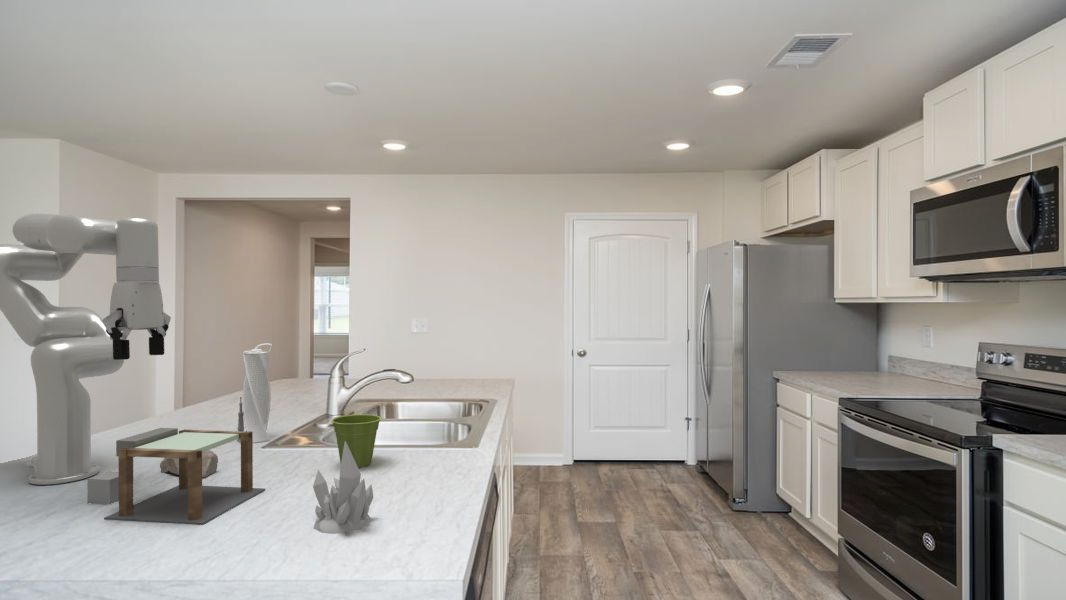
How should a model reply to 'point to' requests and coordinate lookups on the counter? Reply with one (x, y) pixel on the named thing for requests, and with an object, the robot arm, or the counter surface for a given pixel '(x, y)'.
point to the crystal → (342, 499)
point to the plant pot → (357, 436)
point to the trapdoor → (175, 440)
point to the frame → (182, 471)
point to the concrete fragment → (207, 464)
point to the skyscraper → (255, 395)
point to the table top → (175, 505)
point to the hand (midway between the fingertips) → (139, 357)
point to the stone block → (103, 488)
